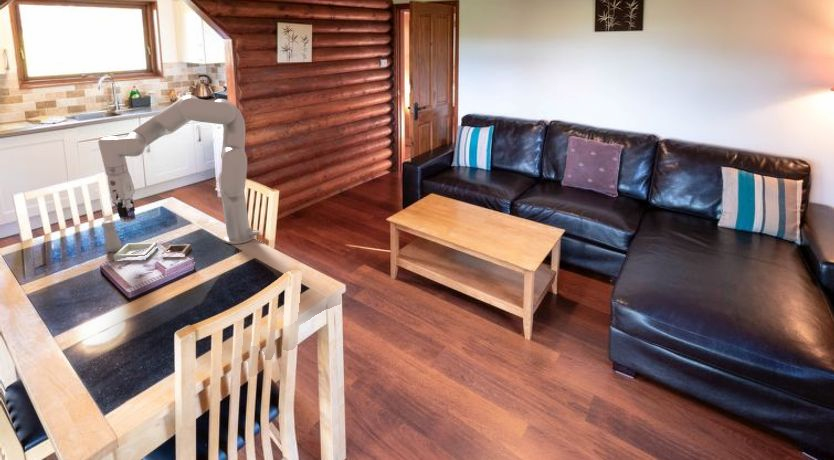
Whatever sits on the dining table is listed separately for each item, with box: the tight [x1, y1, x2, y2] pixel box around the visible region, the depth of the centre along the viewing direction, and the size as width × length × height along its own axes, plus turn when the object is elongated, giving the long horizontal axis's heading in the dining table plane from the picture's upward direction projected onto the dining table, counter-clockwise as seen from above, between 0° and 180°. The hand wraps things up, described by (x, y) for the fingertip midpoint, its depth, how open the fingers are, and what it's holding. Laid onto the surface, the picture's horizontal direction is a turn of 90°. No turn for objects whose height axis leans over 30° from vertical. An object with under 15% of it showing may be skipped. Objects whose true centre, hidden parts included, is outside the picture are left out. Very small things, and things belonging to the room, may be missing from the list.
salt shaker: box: [101, 220, 123, 253], centre depth 202 cm, size 6×6×13 cm
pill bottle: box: [118, 198, 136, 223], centre depth 193 cm, size 5×5×9 cm
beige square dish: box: [161, 243, 192, 255], centre depth 201 cm, size 8×8×2 cm
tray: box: [113, 241, 158, 261], centre depth 200 cm, size 12×12×3 cm
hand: (127, 213), depth 193 cm, fingers closed on pill bottle, 5 cm apart
